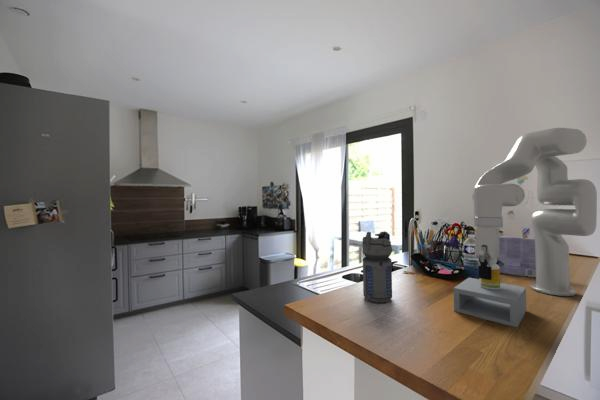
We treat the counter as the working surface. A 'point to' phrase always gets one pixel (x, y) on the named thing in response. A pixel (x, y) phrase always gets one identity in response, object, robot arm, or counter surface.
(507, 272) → the cake pan box
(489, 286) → the supplement bottle
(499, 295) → the shelf unit
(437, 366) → the counter surface
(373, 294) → the beverage bottle
